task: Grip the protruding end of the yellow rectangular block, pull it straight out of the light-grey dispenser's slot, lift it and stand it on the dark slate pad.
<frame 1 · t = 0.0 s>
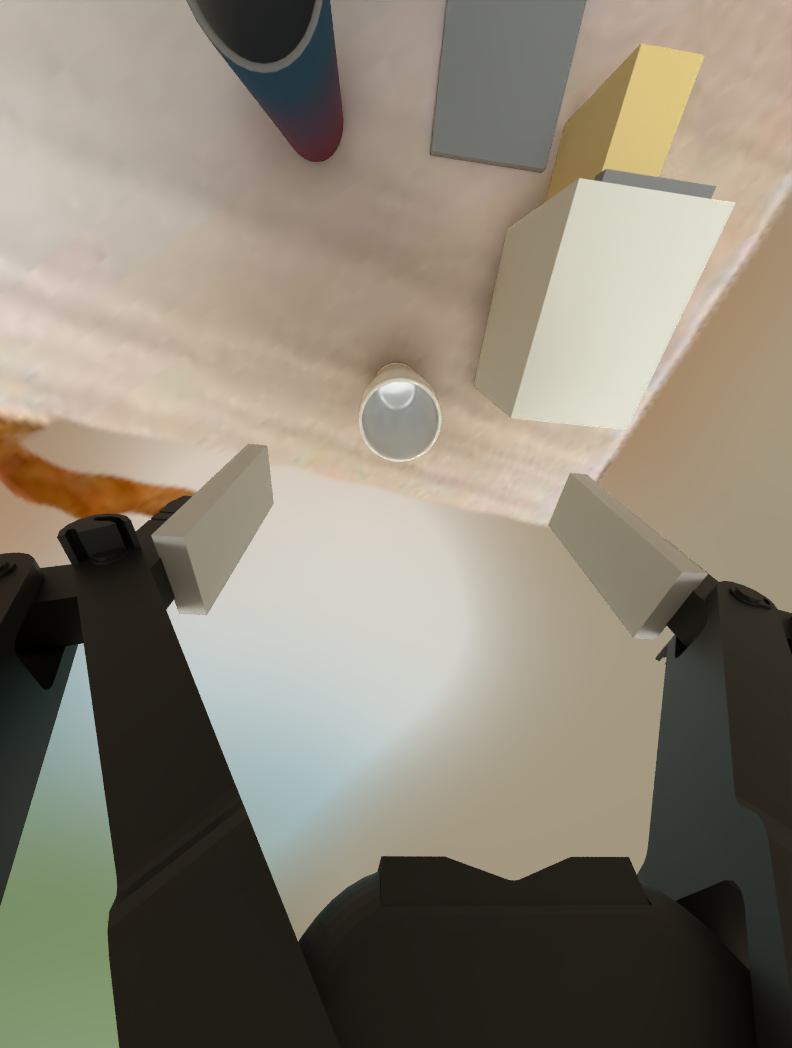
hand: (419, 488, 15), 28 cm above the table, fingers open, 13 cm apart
dispenser: (534, 321, 35), on the table
cup: (313, 119, 27), on the table
drinking glass: (396, 386, 39), on the table
yellow rectangular block: (557, 236, 32), on the table
slate pad: (513, 11, 25), on the table
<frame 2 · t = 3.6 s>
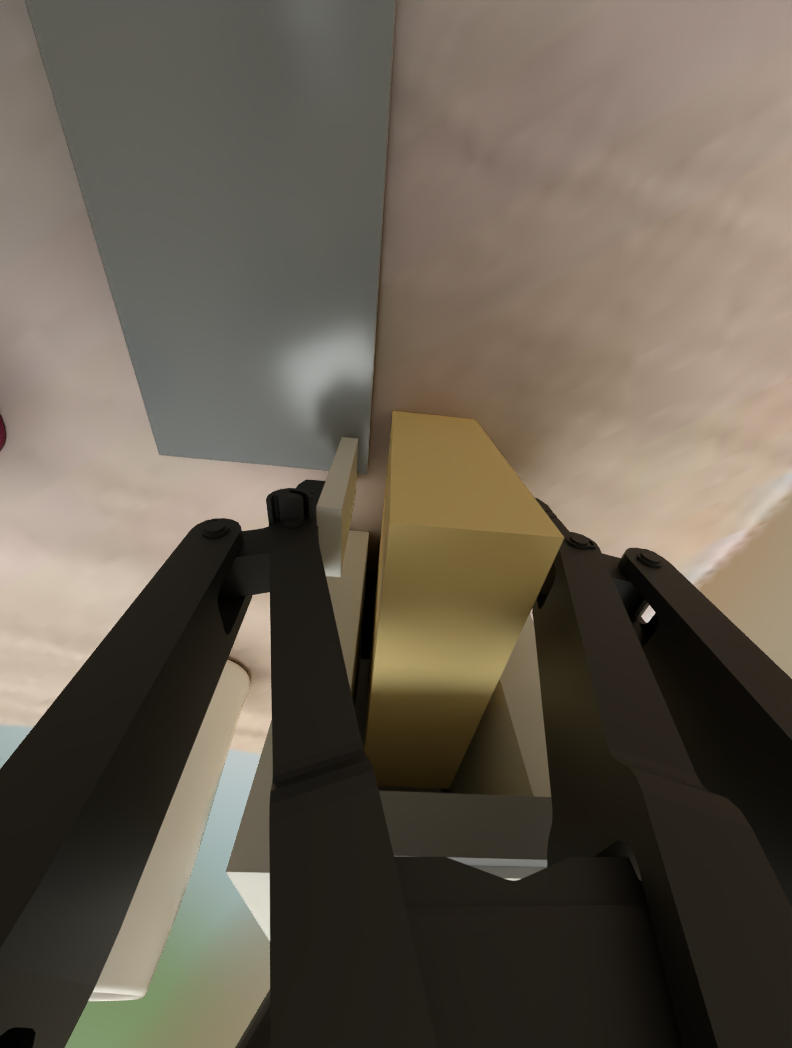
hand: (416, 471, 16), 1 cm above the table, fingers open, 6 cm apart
dispenser: (401, 617, 23), on the table
drinking glass: (219, 670, 27), on the table
yellow rectangular block: (414, 534, 20), on the table
slate pad: (248, 260, 13), on the table
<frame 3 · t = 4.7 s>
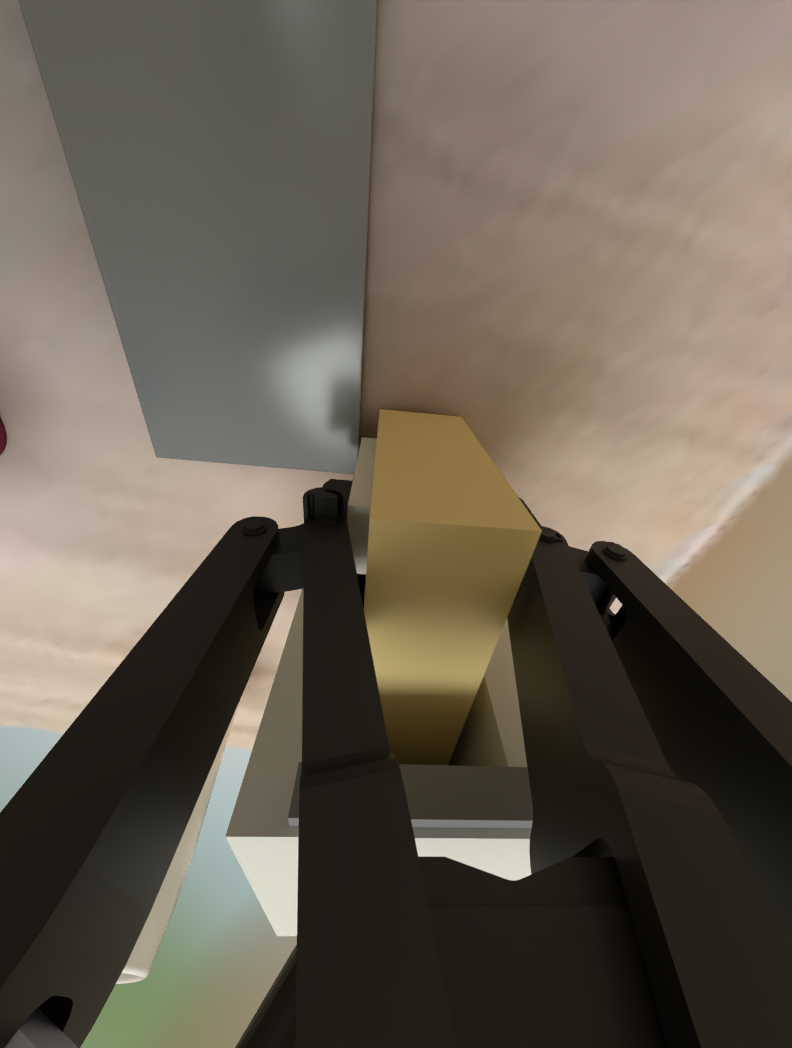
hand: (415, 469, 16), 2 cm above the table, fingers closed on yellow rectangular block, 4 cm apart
dispenser: (393, 612, 24), on the table
drinking glass: (216, 668, 27), on the table
yellow rectangular block: (404, 532, 20), on the table, touching gripper
slate pad: (241, 273, 13), on the table
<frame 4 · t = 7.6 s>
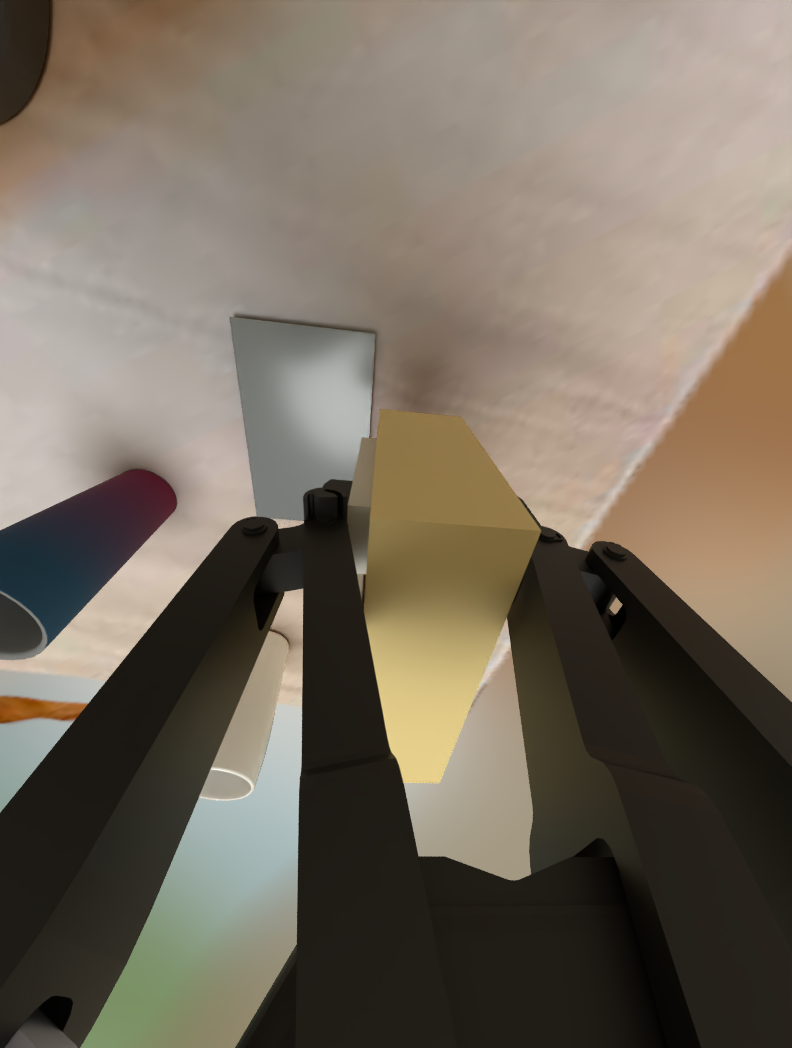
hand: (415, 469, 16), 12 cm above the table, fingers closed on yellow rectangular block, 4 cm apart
cup: (149, 493, 31), on the table
drinking glass: (269, 641, 42), on the table
yellow rectangular block: (404, 532, 20), point 11 cm above the table, touching gripper
slate pad: (309, 435, 28), on the table
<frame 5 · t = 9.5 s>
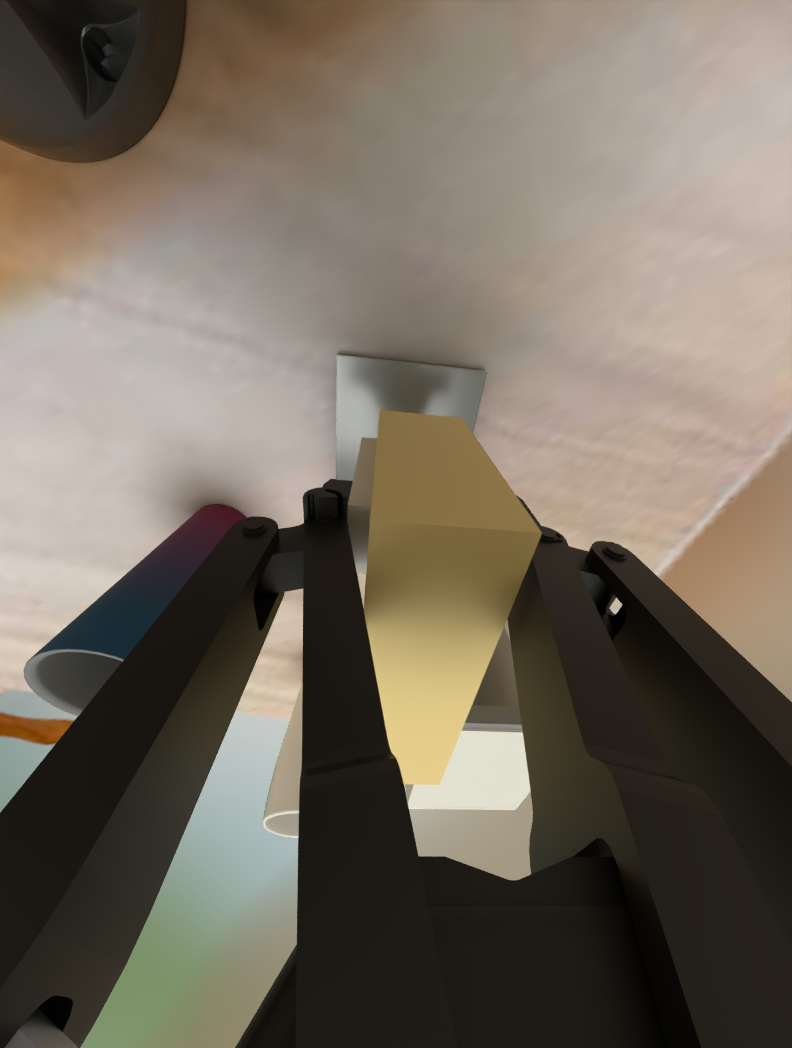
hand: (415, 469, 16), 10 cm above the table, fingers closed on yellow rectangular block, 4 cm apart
dispenser: (451, 630, 38), on the table
cup: (224, 527, 30), on the table
drinking glass: (328, 666, 41), on the table
yellow rectangular block: (404, 533, 20), point 9 cm above the table, touching gripper
slate pad: (399, 470, 27), on the table
when the fingers open (2 cm above the table, at t = 11.0 s): yellow rectangular block stays where it is, resting on slate pad.
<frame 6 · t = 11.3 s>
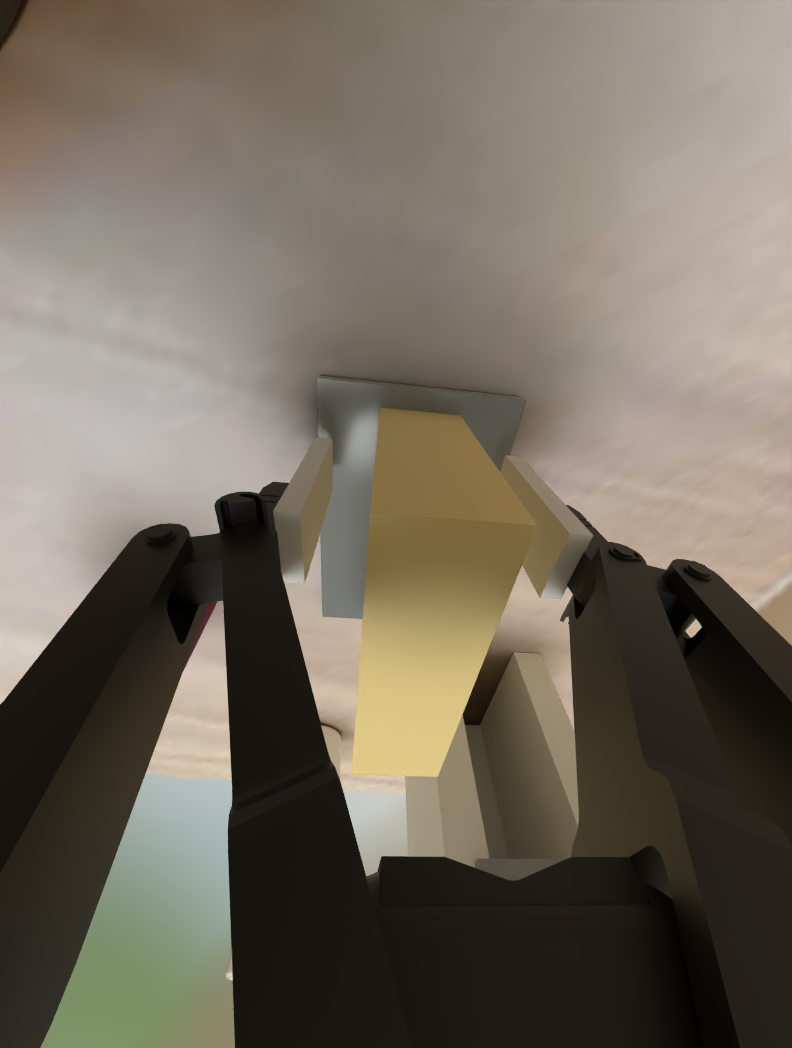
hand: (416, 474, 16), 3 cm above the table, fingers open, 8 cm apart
dispenser: (464, 697, 31), on the table
cup: (182, 588, 23), on the table
drinking glass: (317, 732, 35), on the table
yellow rectangular block: (403, 529, 20), point 1 cm above the table, touching slate pad
slate pad: (403, 522, 21), on the table
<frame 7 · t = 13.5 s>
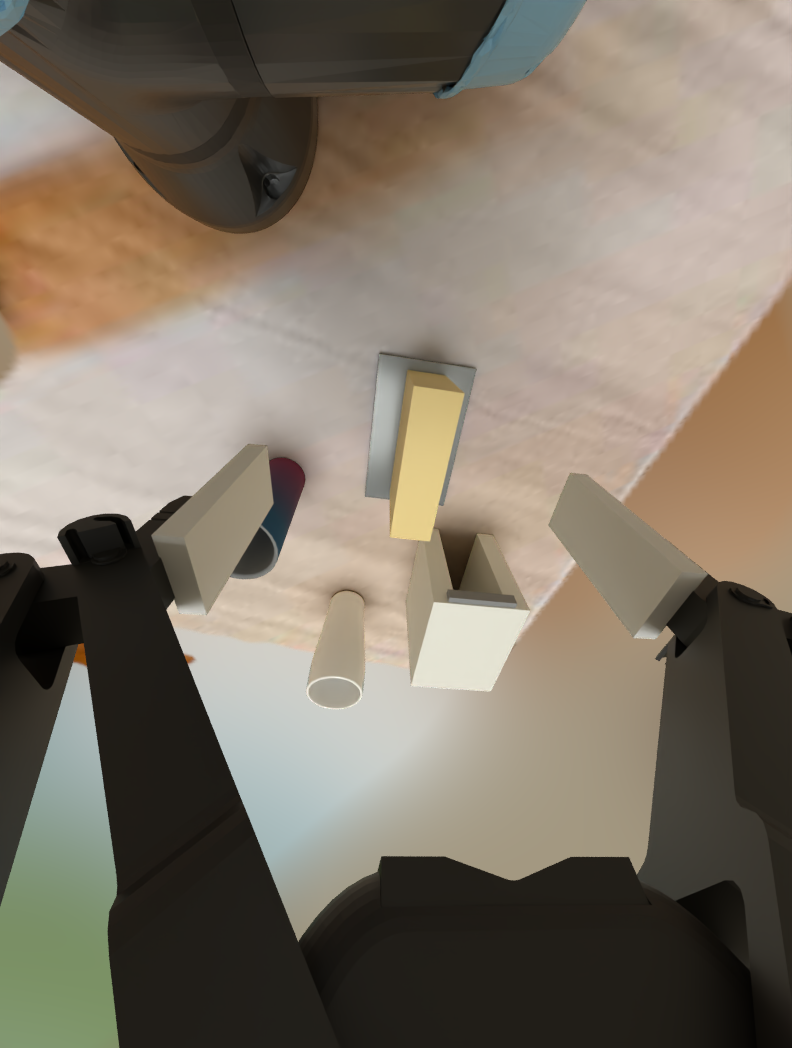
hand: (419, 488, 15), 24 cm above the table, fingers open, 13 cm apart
dispenser: (446, 570, 49), on the table
cup: (284, 476, 41), on the table
drinking glass: (347, 600, 52), on the table
yellow rectangular block: (415, 439, 38), point 1 cm above the table, touching slate pad
slate pad: (414, 437, 38), on the table
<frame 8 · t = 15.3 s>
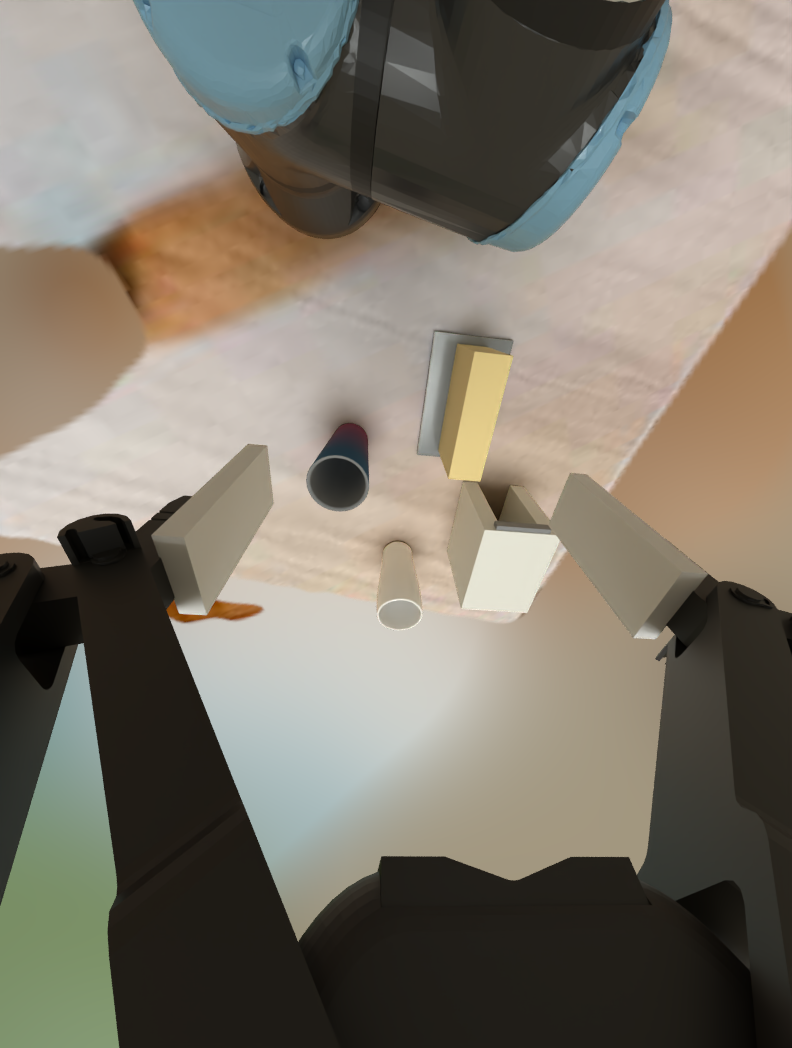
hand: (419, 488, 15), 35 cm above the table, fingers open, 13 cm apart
dispenser: (483, 520, 57), on the table
cup: (350, 439, 49), on the table
drinking glass: (397, 551, 60), on the table
yellow rectangular block: (461, 402, 45), point 1 cm above the table, touching slate pad
slate pad: (460, 401, 46), on the table
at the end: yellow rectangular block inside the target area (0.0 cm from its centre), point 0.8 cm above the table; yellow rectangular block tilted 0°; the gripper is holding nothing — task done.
